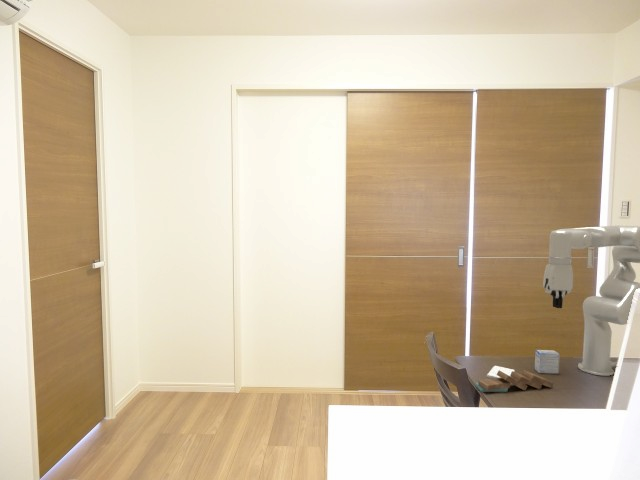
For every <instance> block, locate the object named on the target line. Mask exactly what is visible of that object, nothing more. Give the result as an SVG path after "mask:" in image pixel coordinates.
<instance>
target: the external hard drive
mask: <svg viewBox="0 0 640 480" xmlns="http://www.w3.org/2000/svg"><path fill="white" fill-rule="evenodd" d="M499 370H500V371H501V372H503V373H505V374H507V375H509V376H510V375H511V372H512V371H513V372H516V371H515V369H511V368H507V367H503V366H498V365H494V366H492V368H491V369H490V371H488V373H487V374H486V378H488V379H491V378H499V376H498V375H497V373H498V371H499ZM510 377H511V376H510Z"/></svg>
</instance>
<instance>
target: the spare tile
mask: <svg viewBox="0 0 640 480" xmlns="http://www.w3.org/2000/svg"><path fill="white" fill-rule="evenodd" d="M475 387H476V388H477V389H478V390H479V391H480V392H481V393H490V392H491V393H492V392H493V393H496V392H500V393H501V392H503V393H505V392H508V390H509V388H505V389H498V390H490V391H486V390H485V389H483V388H482V387H480V386H479V385H478V382H475Z"/></svg>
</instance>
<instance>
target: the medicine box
mask: <svg viewBox="0 0 640 480" xmlns="http://www.w3.org/2000/svg"><path fill="white" fill-rule="evenodd" d="M560 355H561V354H559V353H558V352H557V351H556V350H552V349H550V350H548V349H535V353H534V356H535V357H534V369H535V371H536V372H537V373H538V374H556V375H559V370H560Z"/></svg>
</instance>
